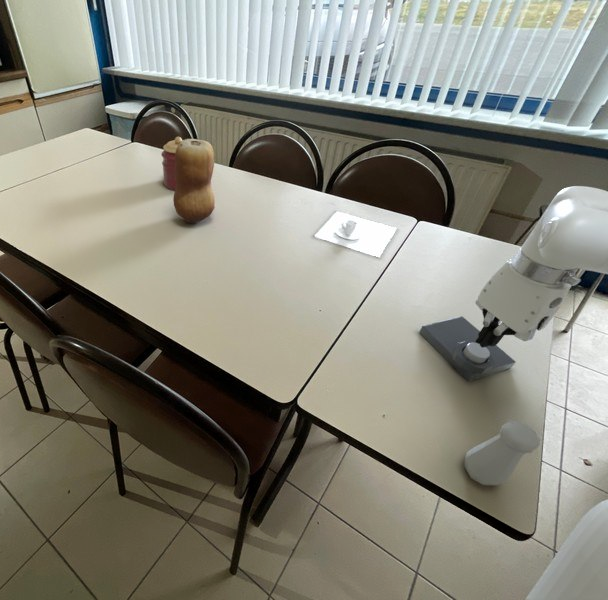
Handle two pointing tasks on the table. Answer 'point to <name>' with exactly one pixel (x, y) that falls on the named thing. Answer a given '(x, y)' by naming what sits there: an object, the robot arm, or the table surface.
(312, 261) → the table surface
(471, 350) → the flush button
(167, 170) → the kitchen canister
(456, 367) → the plate
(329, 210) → the table surface
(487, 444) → the salt shaker
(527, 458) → the table surface
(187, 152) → the butternut squash
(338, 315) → the table surface
